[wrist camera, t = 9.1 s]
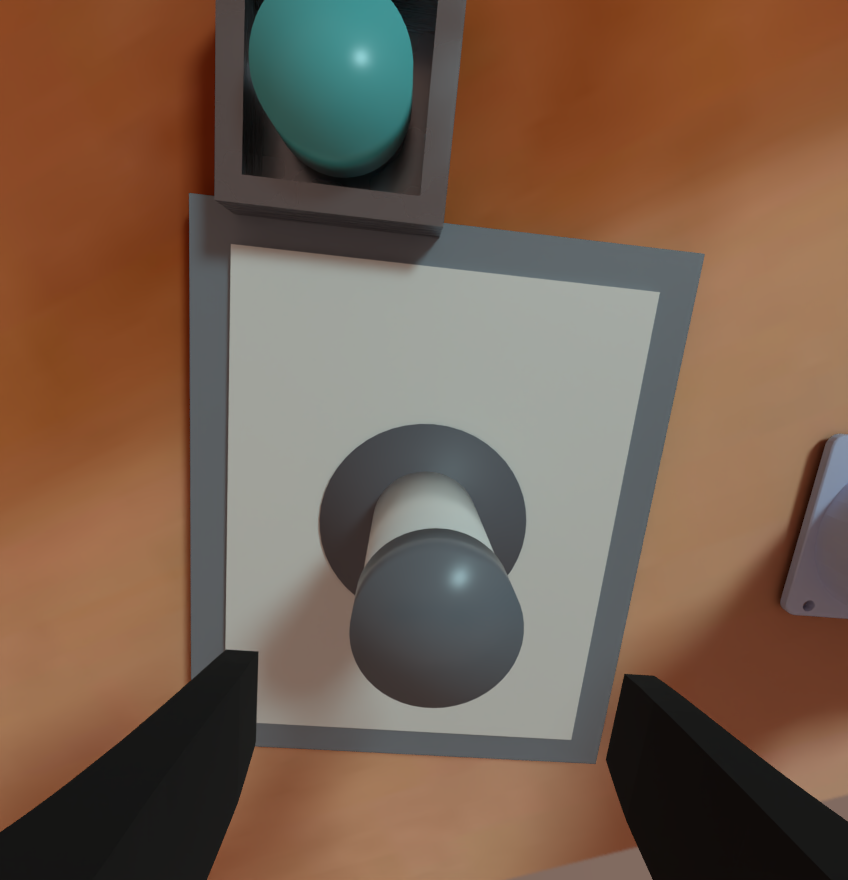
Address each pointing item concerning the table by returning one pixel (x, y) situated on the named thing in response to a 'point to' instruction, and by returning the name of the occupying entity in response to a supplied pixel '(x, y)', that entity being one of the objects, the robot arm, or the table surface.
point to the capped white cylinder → (433, 598)
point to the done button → (334, 80)
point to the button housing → (326, 197)
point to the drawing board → (423, 457)
